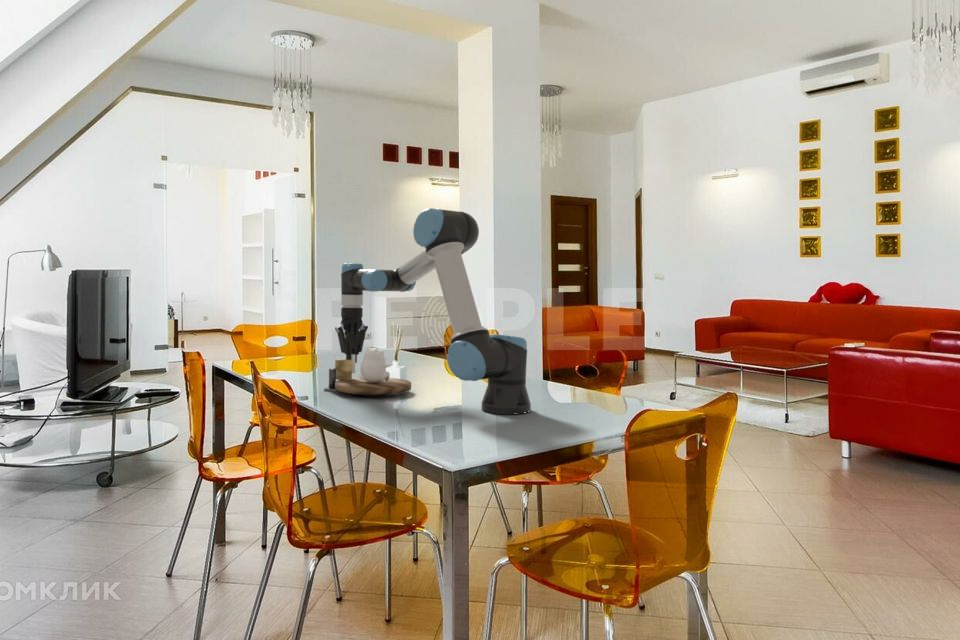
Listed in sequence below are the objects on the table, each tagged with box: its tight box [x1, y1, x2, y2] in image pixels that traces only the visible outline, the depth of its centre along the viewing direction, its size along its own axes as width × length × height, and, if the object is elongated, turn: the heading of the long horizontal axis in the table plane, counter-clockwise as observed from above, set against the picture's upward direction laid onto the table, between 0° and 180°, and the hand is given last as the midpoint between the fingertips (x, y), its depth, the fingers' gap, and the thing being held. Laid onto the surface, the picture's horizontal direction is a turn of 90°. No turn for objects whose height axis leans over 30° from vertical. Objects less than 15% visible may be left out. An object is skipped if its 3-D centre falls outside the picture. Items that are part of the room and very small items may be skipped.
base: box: [323, 367, 389, 397], centre depth 237 cm, size 24×14×8 cm, turn 85°
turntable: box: [334, 358, 412, 395], centre depth 236 cm, size 26×27×9 cm
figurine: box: [359, 346, 391, 383], centre depth 236 cm, size 10×10×12 cm
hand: (351, 372), depth 245 cm, fingers closed
